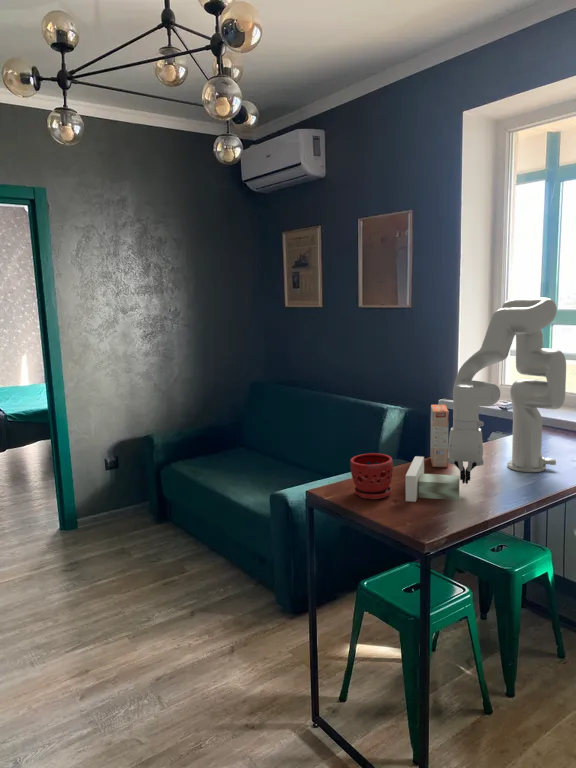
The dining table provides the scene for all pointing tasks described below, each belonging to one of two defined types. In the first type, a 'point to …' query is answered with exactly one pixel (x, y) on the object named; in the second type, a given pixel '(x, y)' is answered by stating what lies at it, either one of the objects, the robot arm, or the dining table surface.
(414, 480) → the board
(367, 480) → the plant pot
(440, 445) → the cracker box
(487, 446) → the dining table surface
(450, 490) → the block
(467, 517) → the dining table surface
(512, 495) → the dining table surface
